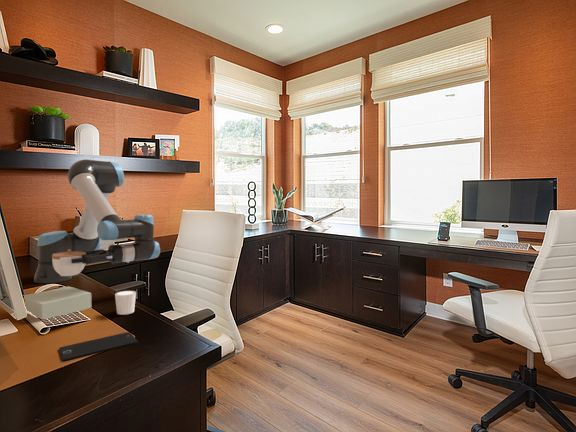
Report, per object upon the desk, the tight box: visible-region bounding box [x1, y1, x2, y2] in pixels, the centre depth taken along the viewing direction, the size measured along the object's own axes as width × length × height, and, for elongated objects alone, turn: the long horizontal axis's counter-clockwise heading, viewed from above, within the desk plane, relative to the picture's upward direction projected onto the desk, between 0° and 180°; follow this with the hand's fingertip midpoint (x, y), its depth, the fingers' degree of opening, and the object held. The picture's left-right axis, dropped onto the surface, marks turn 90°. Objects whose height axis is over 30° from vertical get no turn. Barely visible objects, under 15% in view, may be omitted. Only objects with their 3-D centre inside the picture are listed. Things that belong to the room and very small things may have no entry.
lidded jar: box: [52, 249, 86, 277], centre depth 125 cm, size 11×11×9 cm
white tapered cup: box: [114, 290, 137, 316], centre depth 121 cm, size 7×7×7 cm
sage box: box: [23, 285, 92, 319], centre depth 122 cm, size 16×16×6 cm
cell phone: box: [58, 331, 139, 362], centre depth 94 cm, size 9×18×1 cm, turn 130°
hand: (56, 259), depth 122 cm, fingers closed on lidded jar, 11 cm apart
